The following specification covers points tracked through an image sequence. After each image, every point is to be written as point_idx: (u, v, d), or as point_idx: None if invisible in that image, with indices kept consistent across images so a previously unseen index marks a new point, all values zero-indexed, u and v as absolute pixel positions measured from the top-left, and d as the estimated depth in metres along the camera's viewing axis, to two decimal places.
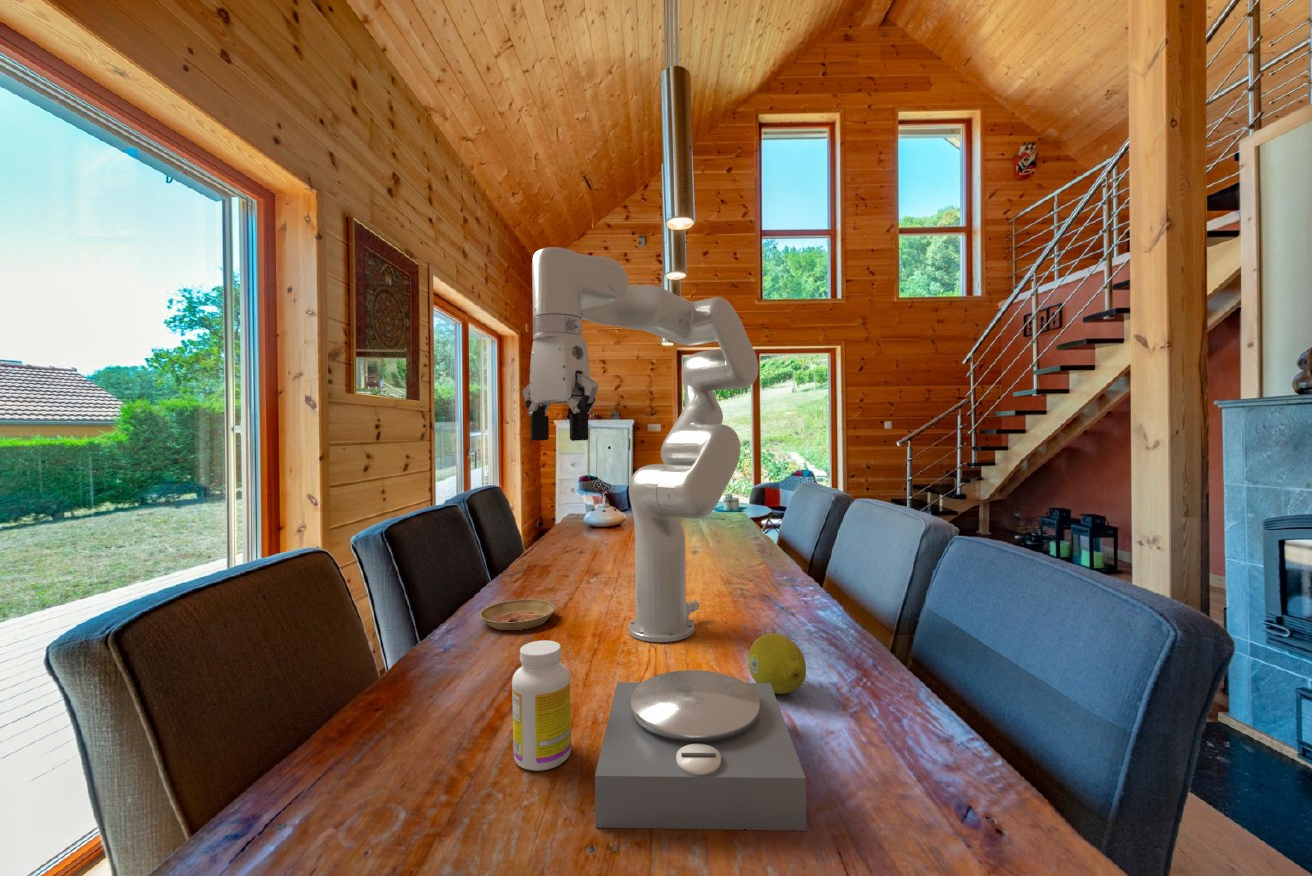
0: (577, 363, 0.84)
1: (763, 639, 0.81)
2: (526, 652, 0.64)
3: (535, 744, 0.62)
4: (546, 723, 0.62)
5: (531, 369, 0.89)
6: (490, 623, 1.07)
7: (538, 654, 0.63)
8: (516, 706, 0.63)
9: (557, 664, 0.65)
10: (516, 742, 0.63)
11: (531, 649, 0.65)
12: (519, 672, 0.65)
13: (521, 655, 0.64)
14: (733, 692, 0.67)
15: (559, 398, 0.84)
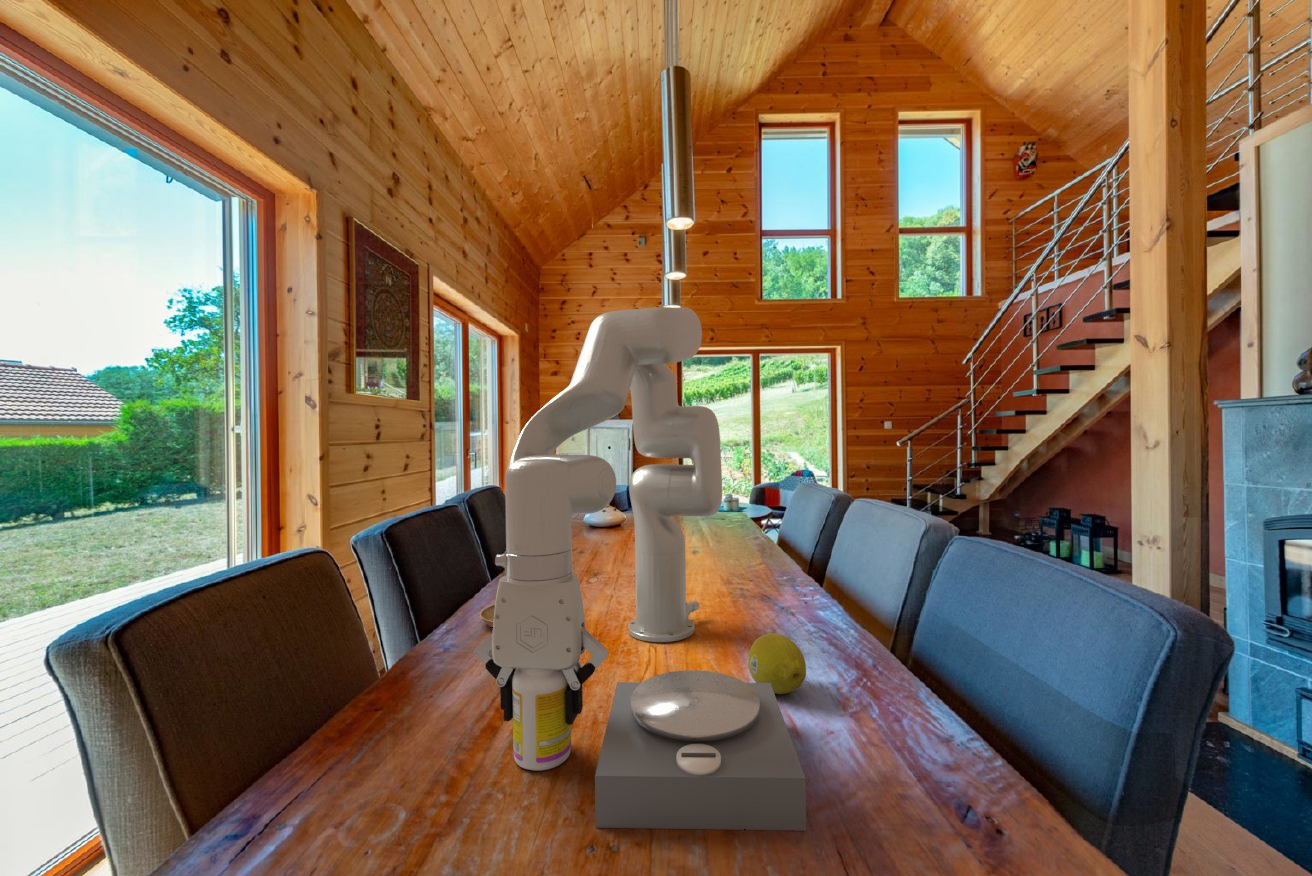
0: None
1: (763, 639, 0.81)
2: None
3: (535, 744, 0.62)
4: (546, 723, 0.62)
5: None
6: (490, 623, 1.07)
7: None
8: (516, 706, 0.63)
9: None
10: (516, 741, 0.63)
11: None
12: (520, 672, 0.65)
13: None
14: (733, 692, 0.67)
15: None
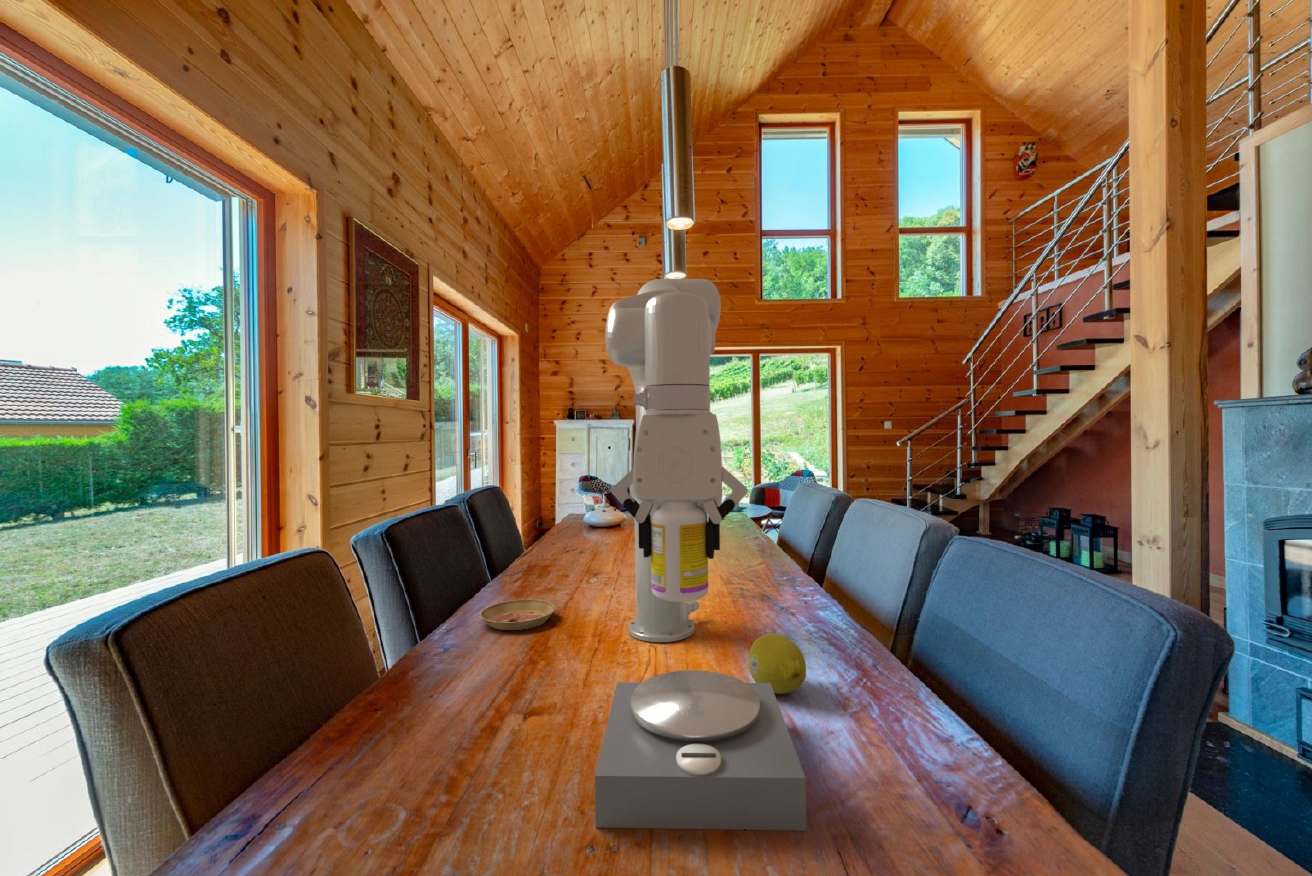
0: None
1: (763, 639, 0.81)
2: None
3: (679, 574, 0.62)
4: (689, 553, 0.62)
5: None
6: (490, 623, 1.07)
7: None
8: (658, 538, 0.63)
9: None
10: (658, 574, 0.63)
11: None
12: (659, 508, 0.65)
13: None
14: (733, 692, 0.67)
15: None
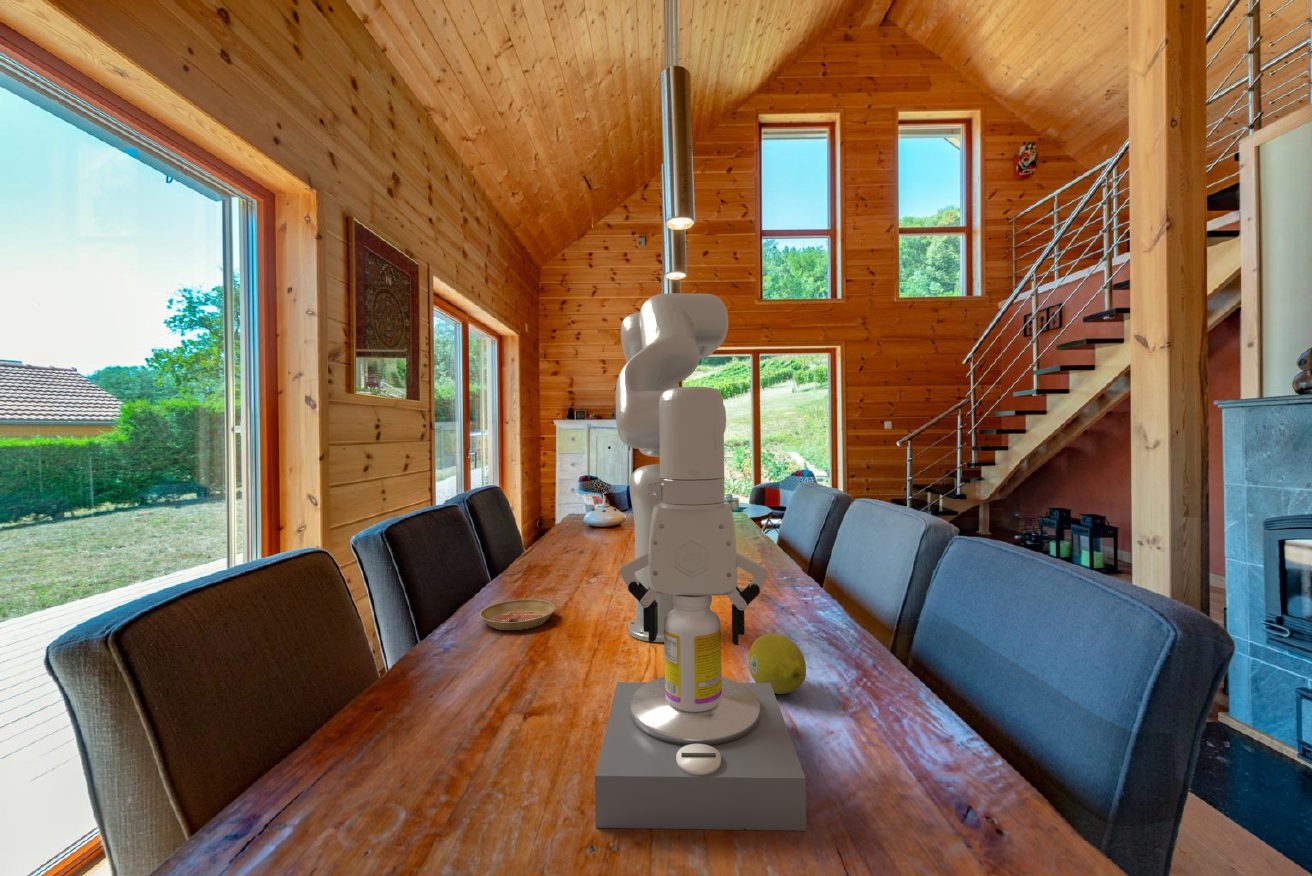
0: None
1: (763, 639, 0.81)
2: (681, 595, 0.64)
3: (694, 685, 0.62)
4: (704, 664, 0.63)
5: None
6: (490, 623, 1.07)
7: (694, 596, 0.64)
8: (672, 648, 0.63)
9: (709, 608, 0.65)
10: (672, 684, 0.64)
11: None
12: (672, 615, 0.65)
13: (675, 598, 0.64)
14: (733, 696, 0.67)
15: None
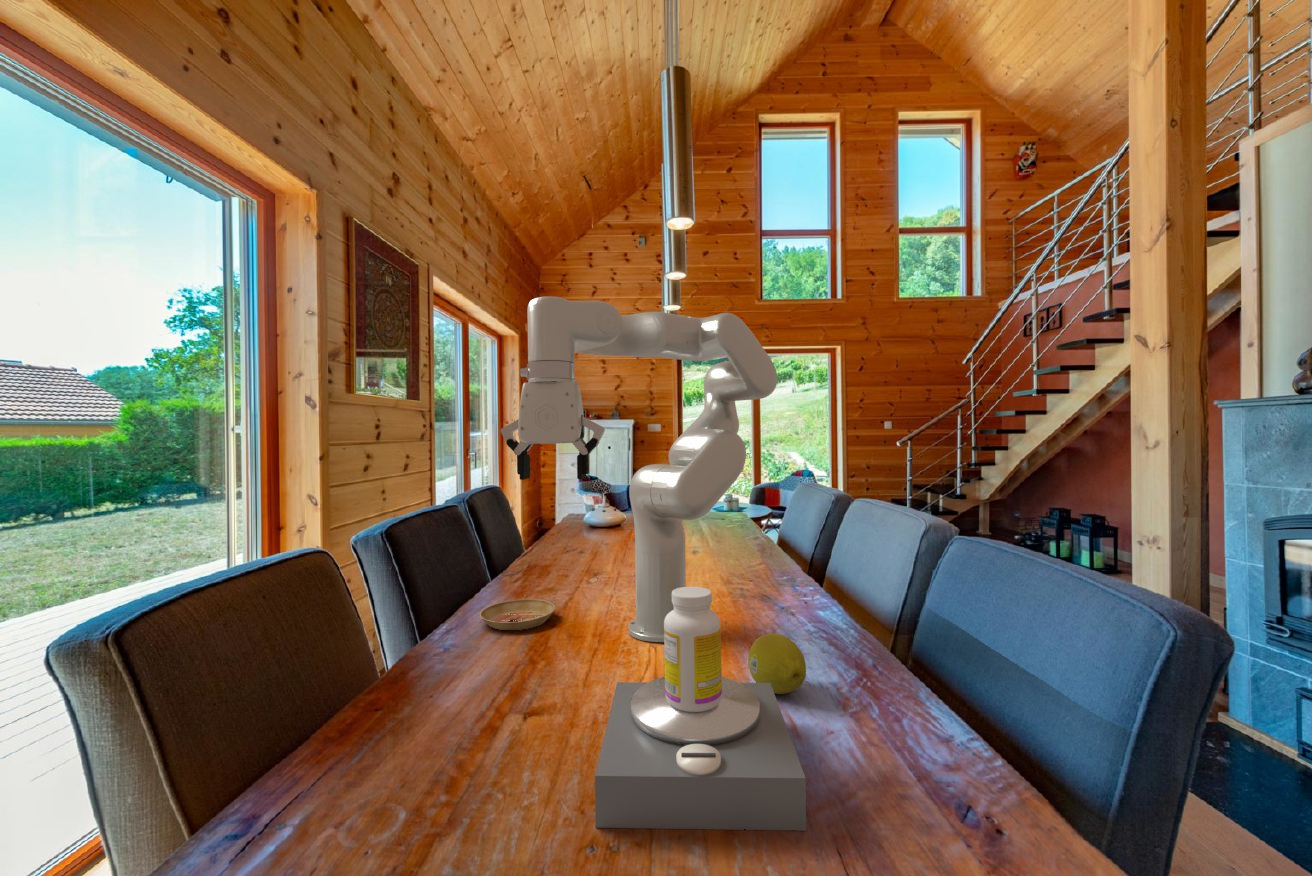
0: None
1: (763, 639, 0.81)
2: (680, 595, 0.64)
3: (694, 685, 0.62)
4: (704, 664, 0.63)
5: None
6: (490, 623, 1.07)
7: (694, 596, 0.64)
8: (672, 648, 0.63)
9: (709, 608, 0.65)
10: (672, 684, 0.64)
11: (682, 592, 0.65)
12: (672, 615, 0.65)
13: (675, 598, 0.64)
14: (733, 696, 0.67)
15: None
